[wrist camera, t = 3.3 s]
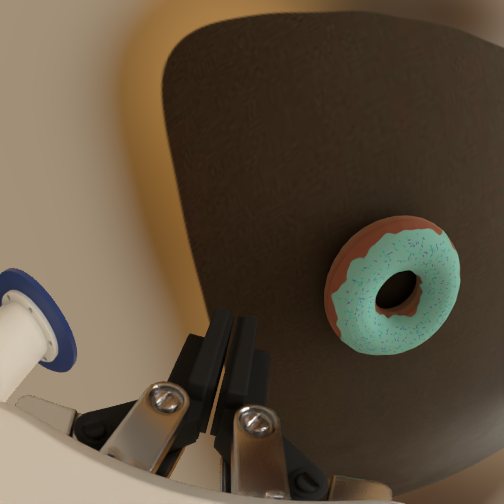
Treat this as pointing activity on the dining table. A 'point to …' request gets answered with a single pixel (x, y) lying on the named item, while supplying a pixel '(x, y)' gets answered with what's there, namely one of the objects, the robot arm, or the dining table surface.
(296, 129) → the dining table surface
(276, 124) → the dining table surface
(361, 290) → the donut
